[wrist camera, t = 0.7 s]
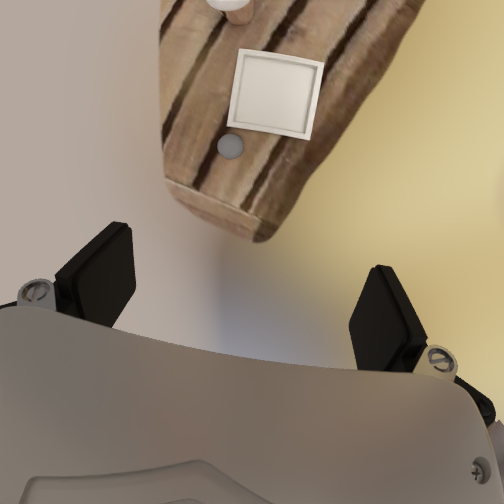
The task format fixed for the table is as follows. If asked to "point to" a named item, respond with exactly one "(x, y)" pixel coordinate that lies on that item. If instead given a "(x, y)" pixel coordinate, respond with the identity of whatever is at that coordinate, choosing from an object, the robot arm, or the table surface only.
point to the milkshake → (234, 10)
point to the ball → (230, 146)
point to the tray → (275, 93)
